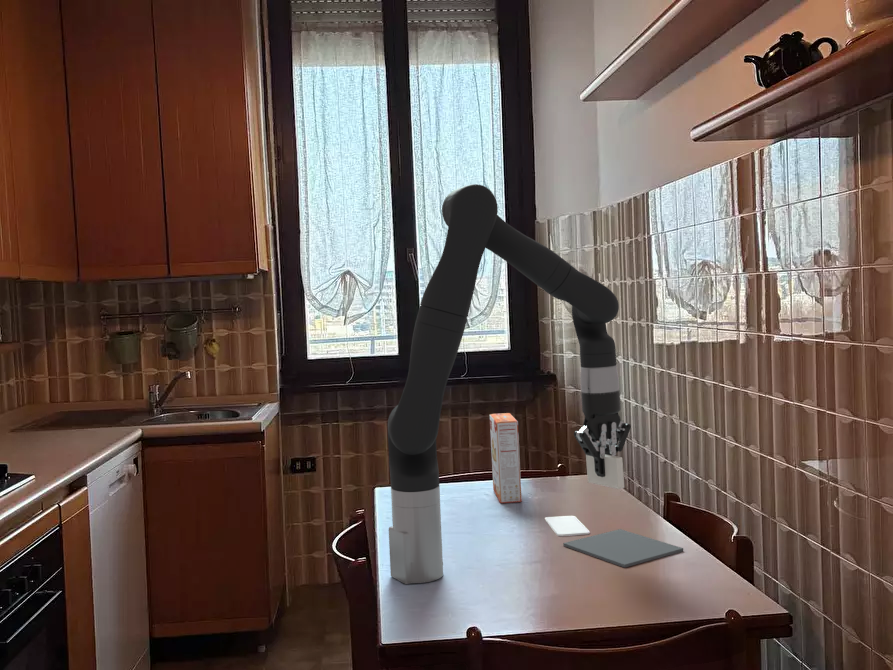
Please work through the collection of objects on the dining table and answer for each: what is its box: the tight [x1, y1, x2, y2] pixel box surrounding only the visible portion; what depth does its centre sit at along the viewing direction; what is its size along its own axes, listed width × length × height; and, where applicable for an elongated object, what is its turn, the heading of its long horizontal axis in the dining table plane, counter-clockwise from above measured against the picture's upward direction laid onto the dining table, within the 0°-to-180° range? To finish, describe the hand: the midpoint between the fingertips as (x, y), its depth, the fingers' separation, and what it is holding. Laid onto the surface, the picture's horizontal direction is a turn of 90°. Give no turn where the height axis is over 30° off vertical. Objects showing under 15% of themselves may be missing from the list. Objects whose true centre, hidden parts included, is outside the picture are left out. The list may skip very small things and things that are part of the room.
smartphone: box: [544, 515, 591, 537], centre depth 193 cm, size 7×1×15 cm
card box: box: [585, 454, 625, 490], centre depth 171 cm, size 2×9×6 cm, turn 31°
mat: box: [562, 528, 684, 569], centre depth 175 cm, size 16×18×1 cm
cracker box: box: [489, 412, 523, 504], centre depth 222 cm, size 14×6×21 cm, turn 4°
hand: (605, 475), depth 171 cm, fingers closed on card box, 1 cm apart
